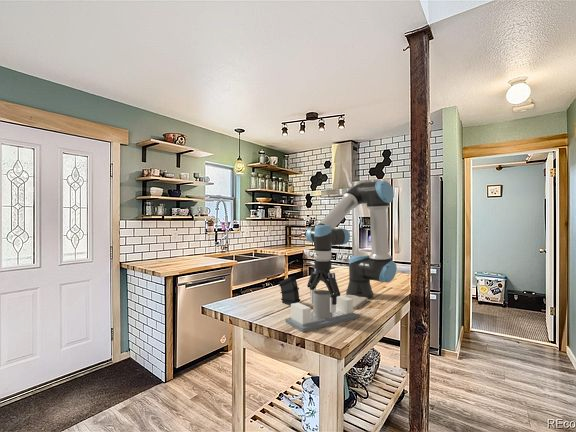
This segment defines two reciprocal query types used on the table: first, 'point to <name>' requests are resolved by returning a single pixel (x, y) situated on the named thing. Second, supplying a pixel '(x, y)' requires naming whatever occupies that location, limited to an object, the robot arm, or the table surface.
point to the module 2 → (344, 304)
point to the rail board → (321, 324)
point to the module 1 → (301, 313)
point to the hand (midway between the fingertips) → (322, 307)
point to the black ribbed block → (289, 291)
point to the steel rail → (316, 319)
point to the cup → (321, 304)
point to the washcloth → (357, 300)
